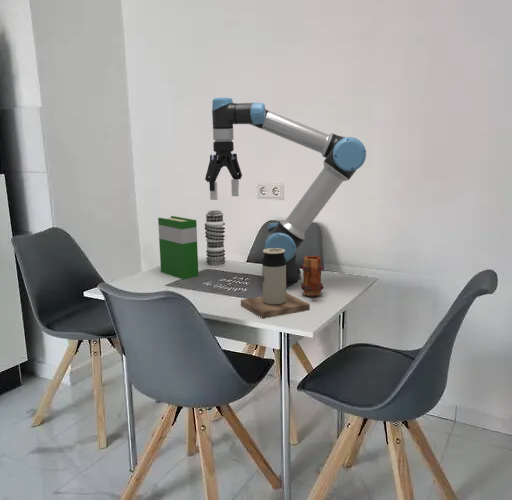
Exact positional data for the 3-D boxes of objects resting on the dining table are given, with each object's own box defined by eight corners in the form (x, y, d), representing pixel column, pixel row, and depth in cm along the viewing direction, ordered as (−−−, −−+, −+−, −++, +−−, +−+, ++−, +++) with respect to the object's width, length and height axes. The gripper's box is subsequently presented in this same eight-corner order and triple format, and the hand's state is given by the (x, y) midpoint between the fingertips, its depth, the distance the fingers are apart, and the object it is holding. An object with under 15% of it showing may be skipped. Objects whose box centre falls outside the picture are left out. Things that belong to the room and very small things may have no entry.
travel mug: (287, 298, 188) (287, 248, 184) (284, 305, 180) (283, 253, 176) (265, 297, 189) (264, 247, 186) (260, 304, 182) (259, 252, 178)
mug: (300, 291, 204) (300, 252, 200) (322, 291, 203) (322, 252, 200) (302, 303, 189) (302, 261, 186) (325, 303, 189) (326, 261, 186)
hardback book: (160, 272, 236) (158, 217, 231) (175, 269, 241) (172, 215, 236) (183, 279, 223) (181, 222, 219) (198, 276, 228) (196, 220, 223)
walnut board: (285, 297, 196) (285, 292, 195) (309, 309, 182) (309, 304, 181) (240, 305, 188) (240, 299, 187) (262, 318, 174) (262, 312, 173)
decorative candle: (208, 262, 253) (207, 209, 247) (228, 263, 251) (226, 209, 246) (203, 267, 244) (201, 212, 239) (223, 267, 242) (221, 212, 237)
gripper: (234, 140, 213) (235, 194, 217) (194, 141, 193) (196, 200, 197) (250, 140, 209) (251, 195, 213) (210, 141, 189) (212, 201, 193)
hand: (224, 198), depth 205 cm, fingers open, 13 cm apart
